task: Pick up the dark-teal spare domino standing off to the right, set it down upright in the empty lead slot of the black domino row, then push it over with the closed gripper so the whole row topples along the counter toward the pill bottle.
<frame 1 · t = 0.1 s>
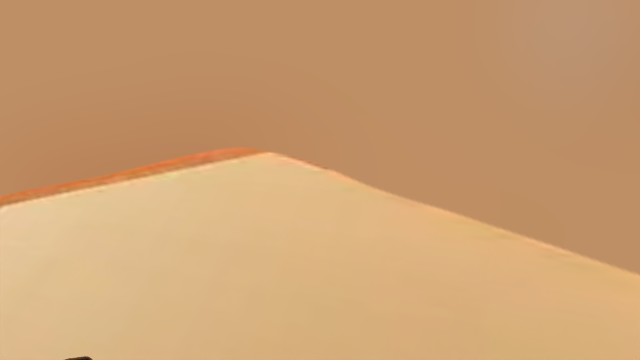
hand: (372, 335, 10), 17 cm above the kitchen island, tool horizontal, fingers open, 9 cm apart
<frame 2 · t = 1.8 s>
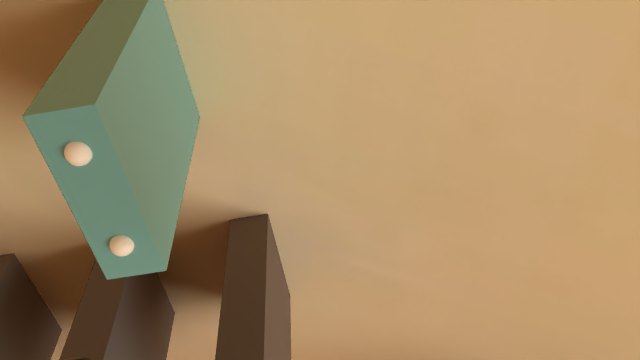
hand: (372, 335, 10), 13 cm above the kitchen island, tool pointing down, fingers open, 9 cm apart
domino 4: (21, 296, 27), on the kitchen island
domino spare: (157, 58, 21), on the kitchen island
domino 2: (261, 260, 27), on the kitchen island
domino 3: (140, 278, 27), on the kitchen island
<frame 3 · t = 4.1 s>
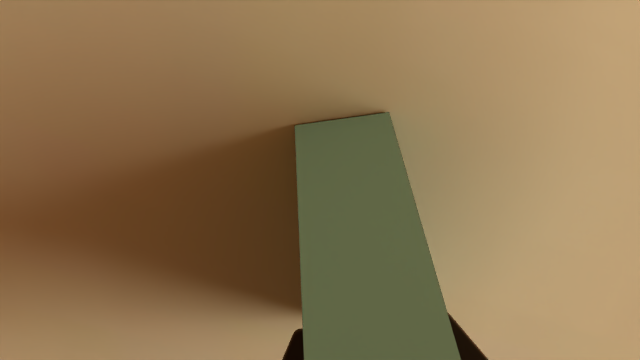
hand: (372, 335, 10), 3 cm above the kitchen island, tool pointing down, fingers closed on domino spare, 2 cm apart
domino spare: (355, 229, 12), on the kitchen island, touching gripper
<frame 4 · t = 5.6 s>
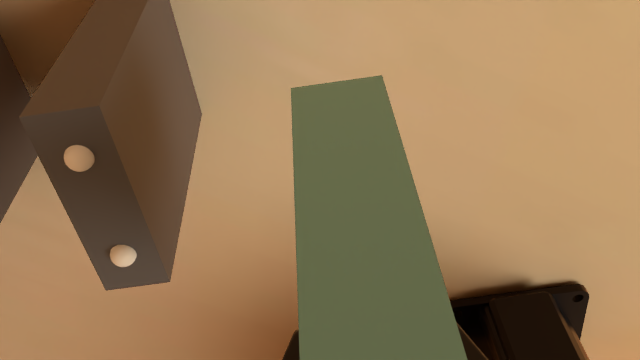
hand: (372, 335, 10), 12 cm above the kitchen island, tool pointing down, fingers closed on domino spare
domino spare: (350, 193, 12), point 9 cm above the kitchen island, touching gripper
domino 2: (158, 51, 20), on the kitchen island
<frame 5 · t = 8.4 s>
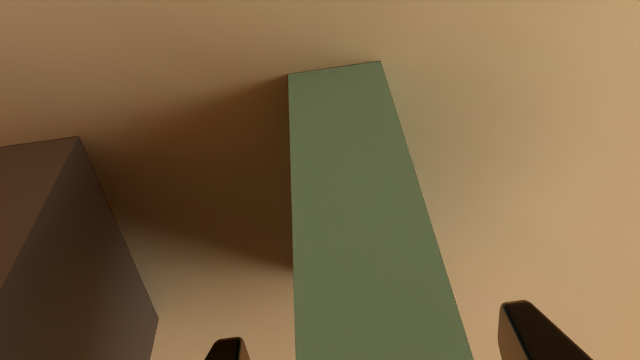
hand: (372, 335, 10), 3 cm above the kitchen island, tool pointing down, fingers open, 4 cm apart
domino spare: (348, 182, 12), on the kitchen island
domino 2: (85, 243, 12), on the kitchen island
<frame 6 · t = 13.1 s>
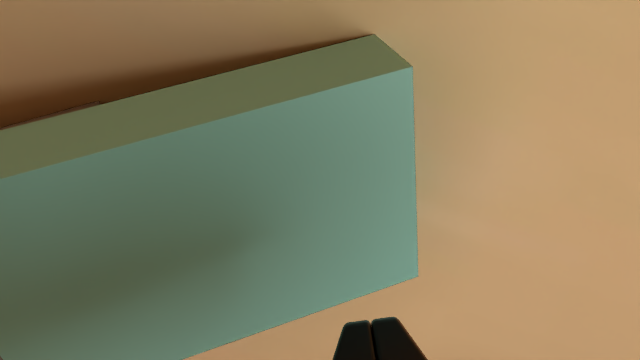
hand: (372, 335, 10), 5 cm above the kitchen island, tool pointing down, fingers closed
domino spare: (397, 163, 12), point 1 cm above the kitchen island, tilted 74°, touching domino 2
domino 2: (142, 219, 13), point 1 cm above the kitchen island, tilted 74°, touching domino 3, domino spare
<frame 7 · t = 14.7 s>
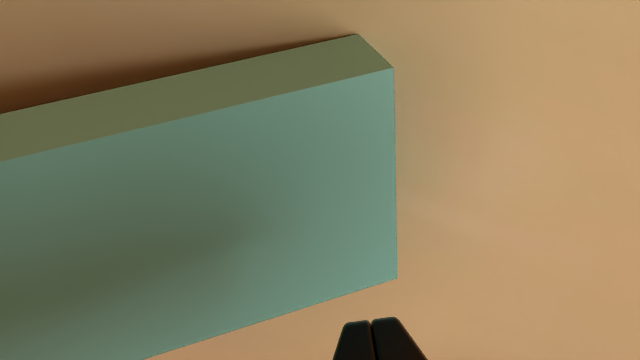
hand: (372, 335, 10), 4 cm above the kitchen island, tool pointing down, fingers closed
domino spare: (379, 164, 12), point 1 cm above the kitchen island, tilted 74°, touching domino 2
domino 2: (111, 218, 13), point 1 cm above the kitchen island, tilted 75°, touching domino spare
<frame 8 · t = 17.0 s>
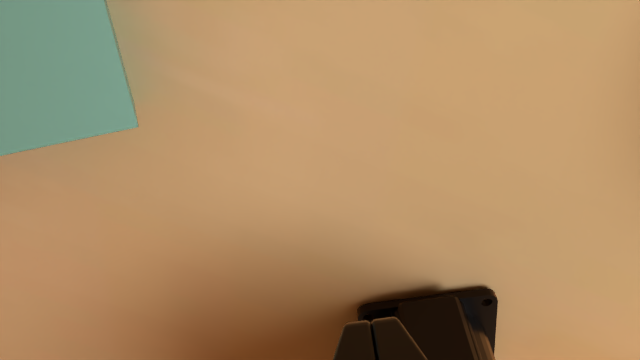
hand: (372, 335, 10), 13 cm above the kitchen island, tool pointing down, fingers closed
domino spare: (118, 48, 19), point 1 cm above the kitchen island, tilted 75°, touching domino 2
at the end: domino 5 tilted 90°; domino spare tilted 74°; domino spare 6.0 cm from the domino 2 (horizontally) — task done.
